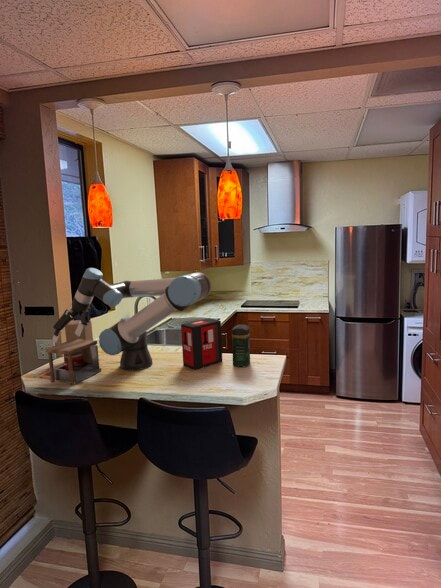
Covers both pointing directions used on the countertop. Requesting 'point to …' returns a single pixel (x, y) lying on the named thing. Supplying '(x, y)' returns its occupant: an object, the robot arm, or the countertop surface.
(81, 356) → the canned food
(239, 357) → the coffee jar
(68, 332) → the wooden block
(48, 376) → the frame
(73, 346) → the small wooden table
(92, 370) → the gray open tray
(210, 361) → the cleaning product box
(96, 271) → the robot arm
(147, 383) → the countertop surface
